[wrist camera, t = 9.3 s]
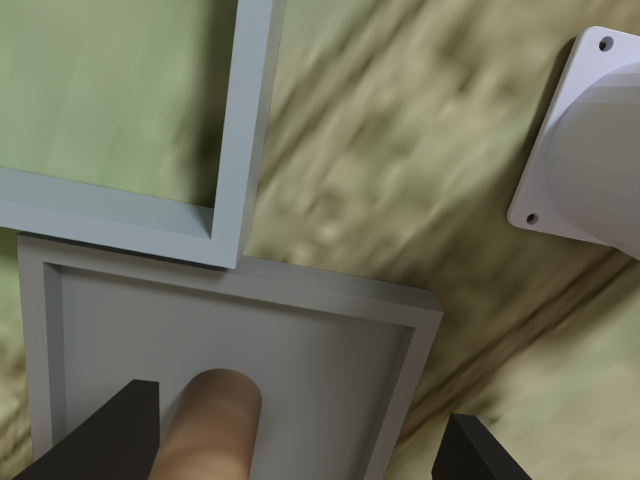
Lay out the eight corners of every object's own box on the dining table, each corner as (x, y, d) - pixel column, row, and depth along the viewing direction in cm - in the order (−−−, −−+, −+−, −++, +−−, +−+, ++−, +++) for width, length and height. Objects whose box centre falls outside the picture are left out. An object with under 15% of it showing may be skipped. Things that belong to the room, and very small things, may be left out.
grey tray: (431, 290, 19) (444, 312, 17) (354, 512, 24) (357, 547, 23) (48, 219, 18) (15, 234, 16) (59, 471, 23) (36, 504, 21)
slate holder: (308, -150, 13) (305, -231, 10) (250, 236, 18) (234, 269, 15) (-141, -271, 12) (-315, -407, 9) (-73, 175, 17) (-167, 195, 14)
